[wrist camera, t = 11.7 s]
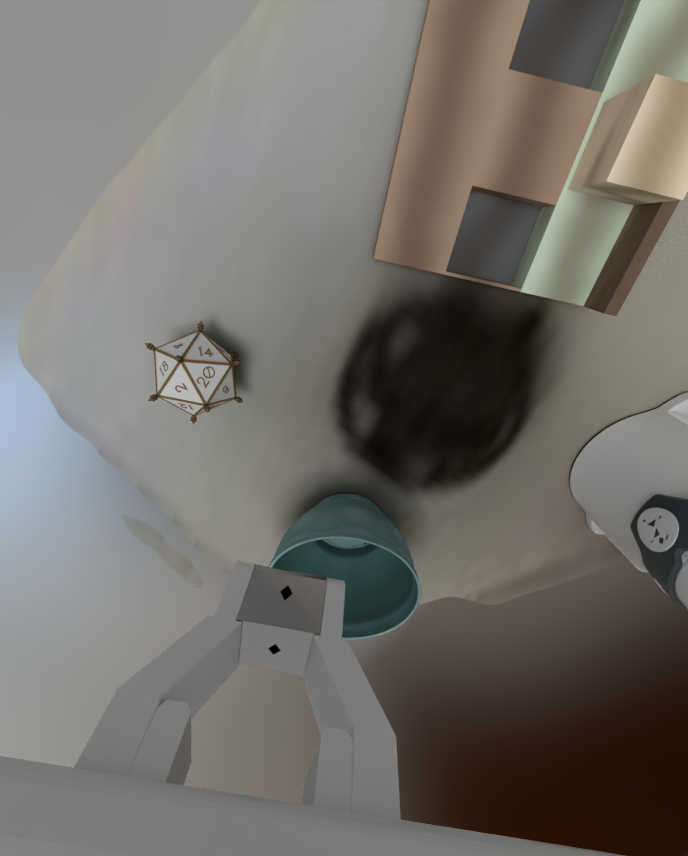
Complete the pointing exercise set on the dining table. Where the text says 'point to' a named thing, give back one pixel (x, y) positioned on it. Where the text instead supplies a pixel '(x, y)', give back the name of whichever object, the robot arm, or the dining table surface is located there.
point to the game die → (194, 373)
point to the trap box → (525, 145)
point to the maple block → (638, 145)
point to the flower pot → (355, 562)
